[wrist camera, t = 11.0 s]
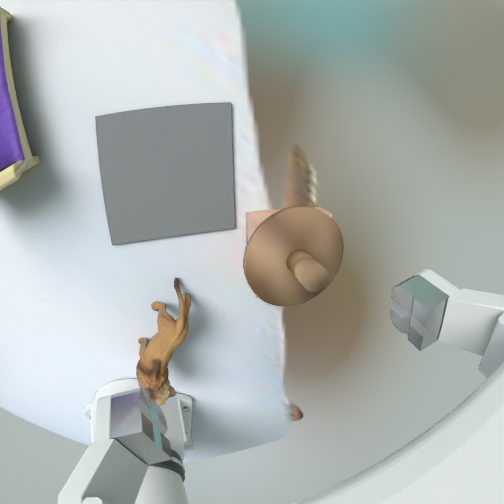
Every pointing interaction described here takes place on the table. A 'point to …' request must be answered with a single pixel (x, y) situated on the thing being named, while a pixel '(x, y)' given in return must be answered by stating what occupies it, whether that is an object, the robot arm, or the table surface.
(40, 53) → the table surface
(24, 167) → the toy sofa
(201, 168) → the mat
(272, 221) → the lid
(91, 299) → the table surface
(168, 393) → the lion figurine
